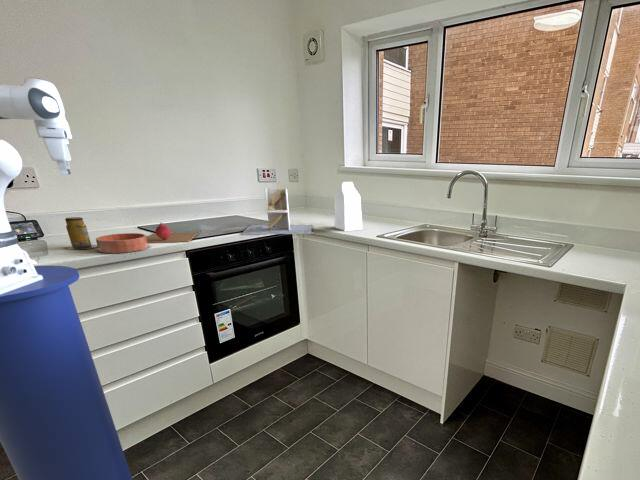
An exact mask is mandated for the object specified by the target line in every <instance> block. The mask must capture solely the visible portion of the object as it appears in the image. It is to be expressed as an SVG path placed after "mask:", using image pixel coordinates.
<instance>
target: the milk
mask: <svg viewBox="0 0 640 480" xmlns="http://www.w3.org/2000/svg"><path fill="white" fill-rule="evenodd" d="M340 185H341V186H340V188H339V189H338V190H337V191H336V193H335V195H334V229H337V230H341V231H345V232H346V231H347V232H348V231H356V230H357V231H358V230H363V218H362V217H363V215H362V201H361V195H360V194H359V192H358V190H357V189H356V188H355V185H354V183H353V181H342V182H341V184H340Z"/></svg>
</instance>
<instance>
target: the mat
mask: <svg viewBox="0 0 640 480" xmlns="http://www.w3.org/2000/svg"><path fill="white" fill-rule="evenodd" d="M198 235H199V232H178V233H177V232H176V233H175V232H173V233H172V232H171V235H170V237H169V238H168V239H167V240H163V239H161V238H159V237H158V236H157V234H156V233H151V234H150V235H147V236H146V238H147V243H148V244H158V243H159V244H162V243H163V244H165V243H189V242H190V241H191V240H193V239H194V238H195V237H196V236H198Z"/></svg>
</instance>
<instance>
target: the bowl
mask: <svg viewBox="0 0 640 480" xmlns="http://www.w3.org/2000/svg"><path fill="white" fill-rule="evenodd" d="M146 237H147V234H144V233H139V232H127V233H126V232H125V233H113V234H107V235H105V234H104V235H101V236H98V237H96V238H95V241H96V245H97V246H98V247H97V249H98V251H99V252H100V253H106V254H123V253H131V252H132V253H133V252H137V251H141V250H145V249H147V248H149V243H147V238H146Z"/></svg>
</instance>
